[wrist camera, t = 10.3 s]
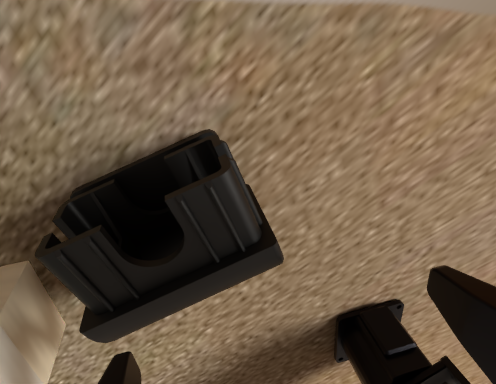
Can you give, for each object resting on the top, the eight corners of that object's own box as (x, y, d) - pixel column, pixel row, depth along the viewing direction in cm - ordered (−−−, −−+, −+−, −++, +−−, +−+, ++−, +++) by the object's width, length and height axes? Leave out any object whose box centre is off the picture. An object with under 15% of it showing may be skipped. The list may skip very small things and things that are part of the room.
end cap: (128, 275, 22) (116, 368, 16) (60, 194, 18) (13, 278, 13) (261, 214, 22) (296, 285, 16) (221, 121, 18) (247, 171, 13)
